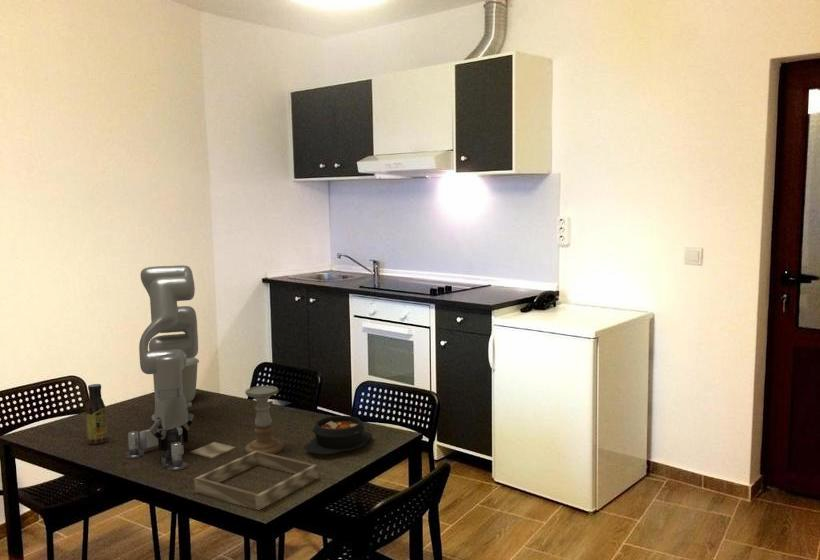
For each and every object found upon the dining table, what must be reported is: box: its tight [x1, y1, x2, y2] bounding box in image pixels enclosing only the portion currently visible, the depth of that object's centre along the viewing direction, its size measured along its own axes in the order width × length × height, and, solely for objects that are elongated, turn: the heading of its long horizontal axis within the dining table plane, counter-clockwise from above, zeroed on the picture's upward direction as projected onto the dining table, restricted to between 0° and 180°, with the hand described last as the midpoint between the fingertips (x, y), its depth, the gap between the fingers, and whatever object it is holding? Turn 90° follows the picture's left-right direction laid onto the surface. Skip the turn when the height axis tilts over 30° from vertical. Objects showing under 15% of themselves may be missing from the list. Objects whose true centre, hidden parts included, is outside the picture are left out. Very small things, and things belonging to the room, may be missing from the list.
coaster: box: [190, 441, 237, 460], centre depth 224 cm, size 10×10×1 cm
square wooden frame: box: [193, 451, 319, 511], centre depth 196 cm, size 24×24×4 cm
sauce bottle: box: [85, 383, 108, 445], centre depth 233 cm, size 6×6×20 cm
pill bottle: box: [163, 426, 185, 459], centre depth 220 cm, size 6×6×11 cm
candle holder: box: [244, 385, 284, 455], centre depth 223 cm, size 12×12×20 cm
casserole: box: [303, 415, 373, 456], centre depth 225 cm, size 25×19×8 cm
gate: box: [139, 428, 163, 450], centre depth 228 cm, size 16×2×6 cm, turn 134°
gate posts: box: [124, 430, 188, 472], centre depth 216 cm, size 26×6×8 cm, turn 59°
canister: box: [182, 356, 200, 403], centre depth 279 cm, size 18×18×21 cm
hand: (173, 445), depth 221 cm, fingers open, 7 cm apart
